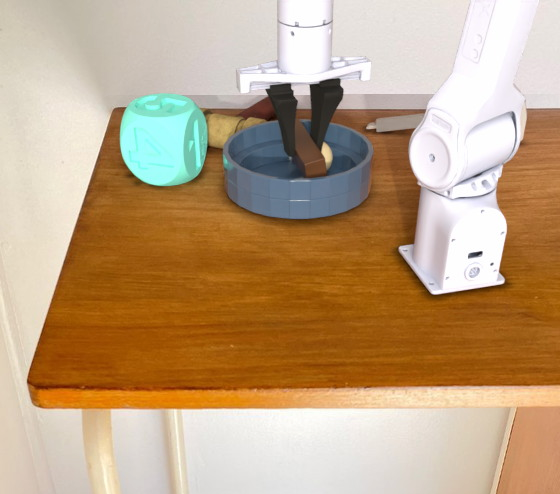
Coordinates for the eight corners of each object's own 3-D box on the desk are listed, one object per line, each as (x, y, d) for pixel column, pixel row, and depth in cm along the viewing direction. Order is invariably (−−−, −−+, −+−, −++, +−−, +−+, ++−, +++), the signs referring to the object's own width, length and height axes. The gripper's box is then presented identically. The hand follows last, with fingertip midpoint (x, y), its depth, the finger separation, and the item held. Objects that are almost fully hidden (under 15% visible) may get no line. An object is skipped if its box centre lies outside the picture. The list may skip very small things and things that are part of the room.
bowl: (391, 213, 97) (395, 169, 93) (244, 232, 93) (243, 188, 90) (343, 152, 108) (345, 112, 105) (211, 168, 105) (208, 127, 102)
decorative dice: (185, 190, 101) (179, 121, 95) (124, 181, 102) (114, 113, 97) (209, 163, 106) (205, 96, 100) (151, 155, 108) (144, 89, 102)
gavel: (258, 71, 120) (323, 82, 117) (258, 105, 123) (321, 117, 120) (182, 112, 106) (254, 125, 103) (184, 149, 109) (254, 163, 106)
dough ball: (330, 182, 103) (344, 153, 100) (305, 183, 101) (319, 155, 98) (311, 160, 104) (325, 132, 101) (287, 161, 102) (300, 132, 99)
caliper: (521, 141, 111) (531, 91, 106) (521, 144, 110) (531, 94, 106) (367, 128, 114) (370, 78, 110) (365, 131, 113) (369, 81, 109)
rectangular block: (327, 177, 94) (325, 157, 93) (307, 184, 94) (304, 164, 92) (301, 137, 101) (298, 118, 99) (282, 143, 101) (279, 124, 99)
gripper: (359, 2, 91) (351, 131, 101) (227, 13, 88) (232, 144, 98) (382, 22, 86) (372, 154, 96) (243, 34, 83) (247, 169, 93)
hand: (302, 151), depth 97 cm, fingers closed on rectangular block, 2 cm apart
